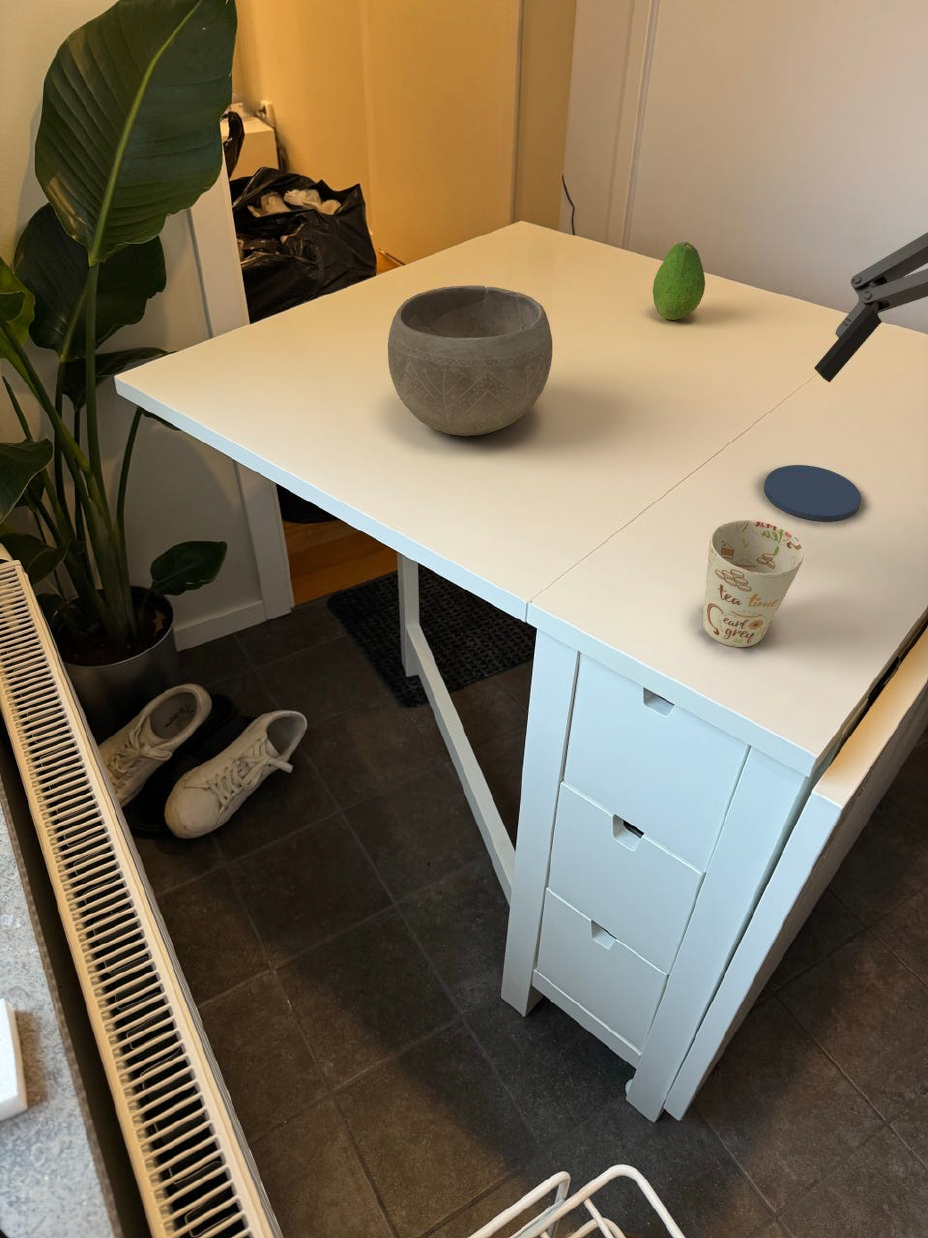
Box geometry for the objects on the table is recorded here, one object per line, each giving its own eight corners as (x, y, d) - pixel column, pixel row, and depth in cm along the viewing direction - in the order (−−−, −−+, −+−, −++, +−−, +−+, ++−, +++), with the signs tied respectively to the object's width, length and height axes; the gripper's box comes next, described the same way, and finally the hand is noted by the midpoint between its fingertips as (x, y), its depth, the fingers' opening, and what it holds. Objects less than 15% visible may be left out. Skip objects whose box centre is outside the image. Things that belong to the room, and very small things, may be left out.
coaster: (879, 505, 105) (881, 500, 104) (811, 531, 101) (813, 525, 100) (810, 462, 112) (812, 456, 112) (744, 484, 108) (745, 478, 107)
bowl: (387, 384, 126) (383, 278, 116) (533, 380, 127) (541, 275, 117) (393, 463, 110) (389, 347, 100) (559, 457, 112) (571, 343, 102)
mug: (673, 624, 88) (692, 543, 82) (745, 572, 95) (768, 493, 88) (744, 668, 84) (771, 586, 77) (815, 611, 90) (845, 530, 84)
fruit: (699, 311, 147) (713, 236, 139) (697, 330, 141) (712, 253, 134) (650, 305, 149) (662, 231, 141) (646, 324, 143) (658, 248, 135)
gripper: (1238, 282, 65) (1012, 509, 72) (957, 158, 79) (790, 359, 86) (1243, 234, 60) (997, 485, 67) (938, 109, 73) (761, 329, 80)
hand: (880, 415), depth 76 cm, fingers open, 13 cm apart
